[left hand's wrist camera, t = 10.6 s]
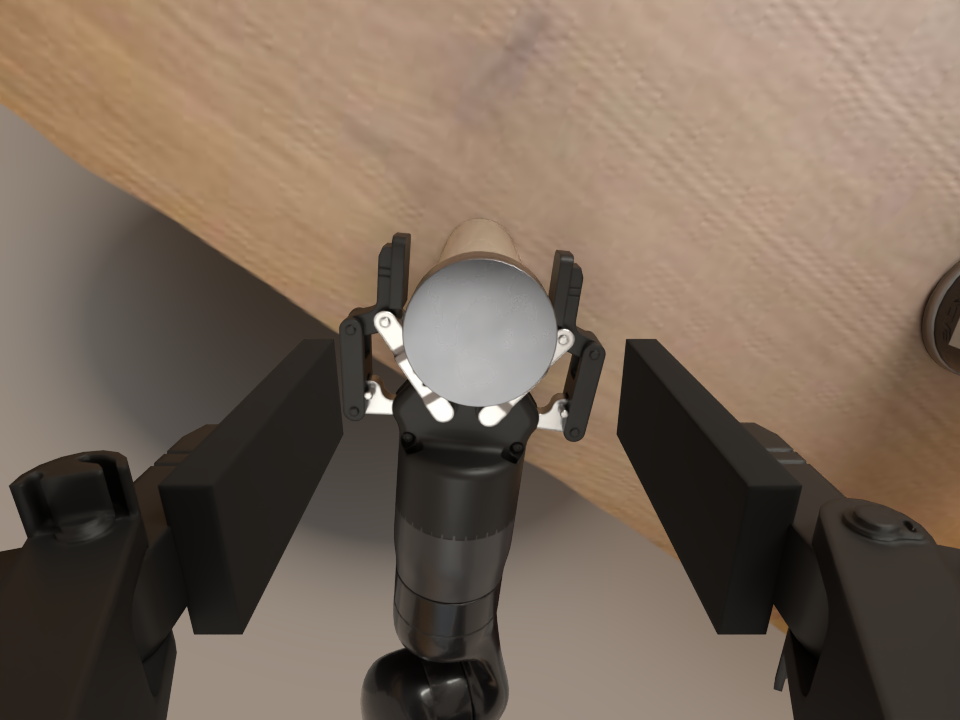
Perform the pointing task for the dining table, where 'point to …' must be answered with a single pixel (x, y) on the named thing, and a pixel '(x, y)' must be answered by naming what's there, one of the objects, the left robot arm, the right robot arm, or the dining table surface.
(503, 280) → the lid
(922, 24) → the dining table surface
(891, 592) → the left robot arm
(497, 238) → the beige cylinder
